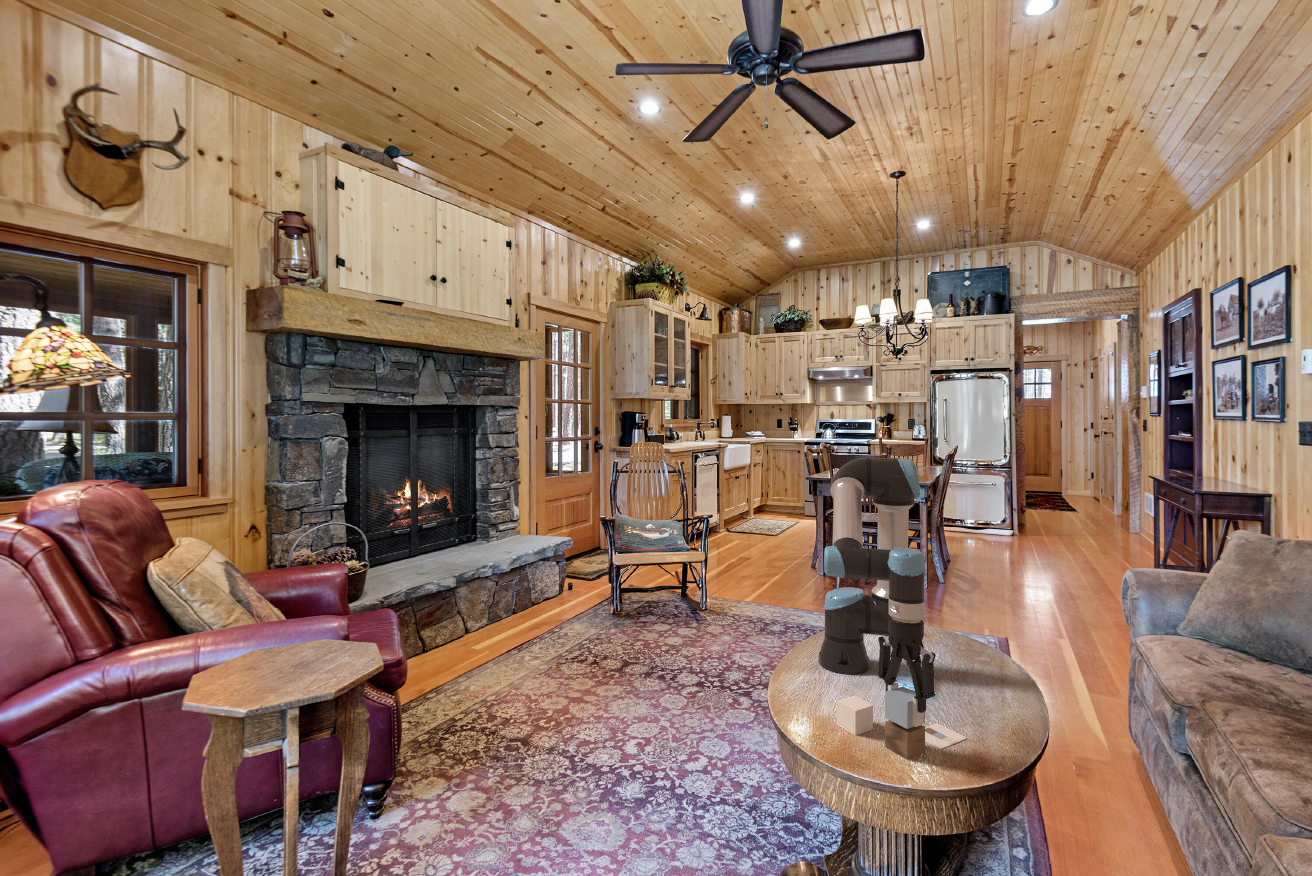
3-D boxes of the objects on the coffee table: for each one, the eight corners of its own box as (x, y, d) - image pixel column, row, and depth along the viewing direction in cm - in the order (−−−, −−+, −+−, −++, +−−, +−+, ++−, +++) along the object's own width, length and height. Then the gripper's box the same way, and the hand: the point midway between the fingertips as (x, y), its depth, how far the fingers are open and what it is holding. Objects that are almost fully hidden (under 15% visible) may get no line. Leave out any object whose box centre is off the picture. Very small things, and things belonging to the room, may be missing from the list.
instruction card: (910, 734, 143) (910, 732, 143) (936, 723, 148) (936, 722, 148) (940, 749, 136) (940, 748, 136) (967, 738, 141) (967, 737, 141)
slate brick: (884, 717, 137) (885, 691, 137) (902, 711, 140) (903, 686, 140) (907, 729, 132) (907, 702, 132) (924, 722, 135) (925, 696, 135)
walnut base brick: (885, 747, 137) (885, 719, 137) (902, 740, 140) (902, 713, 140) (907, 760, 132) (907, 731, 132) (924, 753, 135) (925, 724, 135)
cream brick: (836, 724, 148) (836, 700, 148) (853, 719, 151) (854, 695, 151) (855, 735, 143) (855, 711, 142) (872, 729, 145) (873, 705, 145)
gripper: (861, 609, 142) (860, 705, 142) (932, 633, 125) (931, 741, 126) (883, 604, 146) (882, 698, 146) (954, 627, 129) (953, 733, 129)
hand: (905, 718), depth 136 cm, fingers closed on slate brick, 6 cm apart
